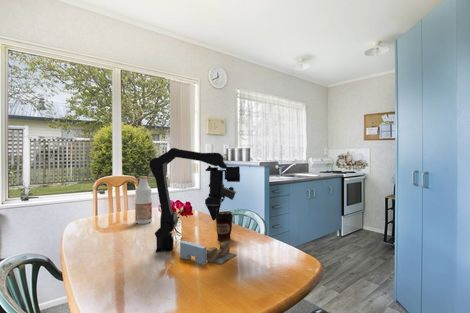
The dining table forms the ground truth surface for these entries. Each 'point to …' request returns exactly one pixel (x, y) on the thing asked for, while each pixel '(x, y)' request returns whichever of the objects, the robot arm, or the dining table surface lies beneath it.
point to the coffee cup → (224, 225)
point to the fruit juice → (143, 202)
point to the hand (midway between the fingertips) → (215, 217)
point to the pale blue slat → (193, 252)
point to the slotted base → (220, 253)
